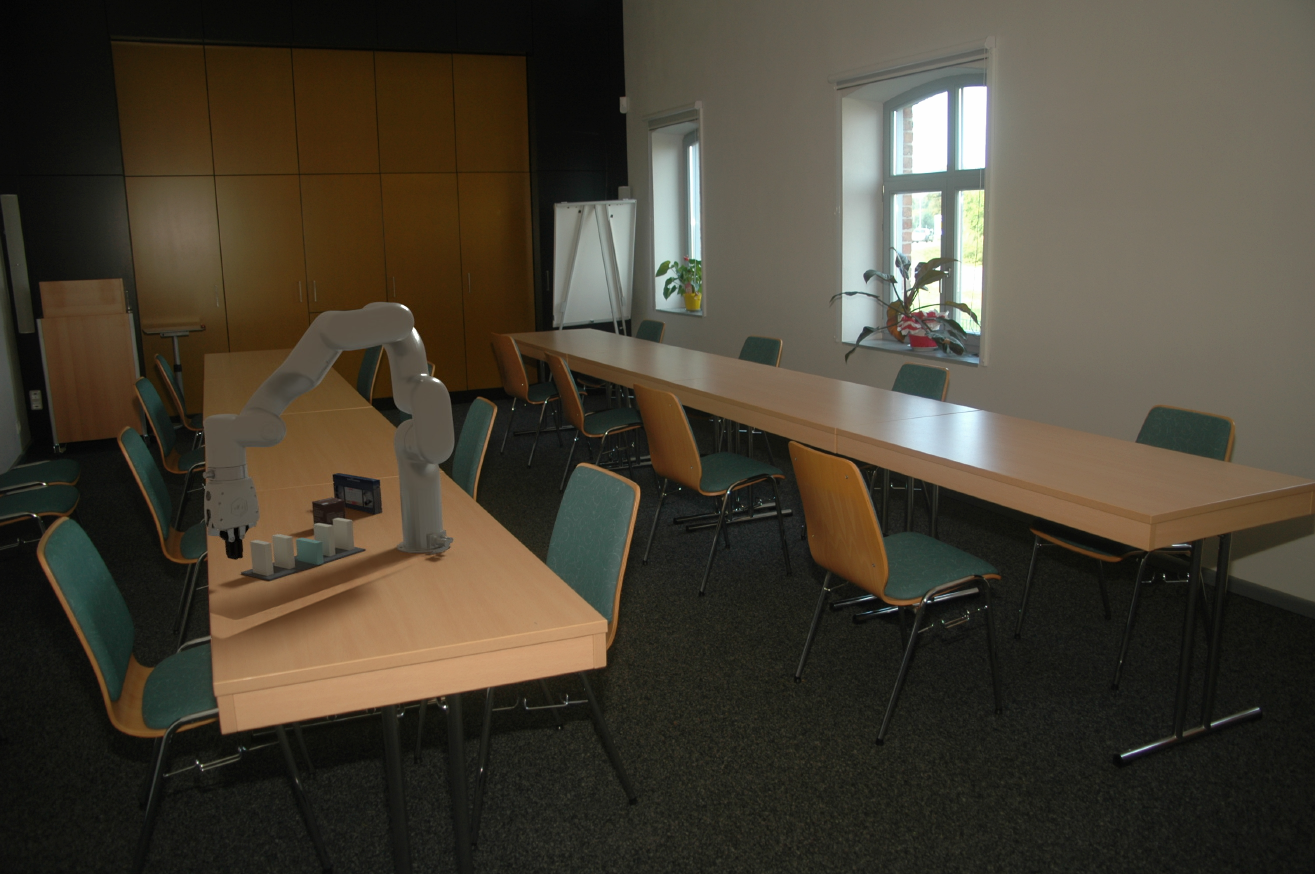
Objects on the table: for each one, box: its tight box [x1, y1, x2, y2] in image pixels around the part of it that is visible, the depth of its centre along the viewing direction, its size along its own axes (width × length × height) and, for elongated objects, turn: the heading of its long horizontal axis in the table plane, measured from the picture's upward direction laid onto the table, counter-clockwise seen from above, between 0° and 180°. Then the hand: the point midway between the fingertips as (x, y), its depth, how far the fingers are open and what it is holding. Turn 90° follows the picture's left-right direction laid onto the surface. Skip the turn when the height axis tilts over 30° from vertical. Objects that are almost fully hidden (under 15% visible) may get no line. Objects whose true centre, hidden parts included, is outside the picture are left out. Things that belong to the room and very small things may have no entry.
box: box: [311, 496, 347, 525], centre depth 241 cm, size 6×6×7 cm
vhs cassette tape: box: [332, 472, 383, 516], centre depth 259 cm, size 18×3×10 cm, turn 53°
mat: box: [240, 546, 366, 582], centre depth 212 cm, size 10×26×1 cm, turn 148°
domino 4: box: [333, 518, 355, 550], centre depth 221 cm, size 2×5×7 cm, turn 58°
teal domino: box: [295, 537, 324, 566], centre depth 211 cm, size 2×5×7 cm
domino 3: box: [312, 523, 335, 556], centre depth 216 cm, size 2×5×7 cm, turn 58°
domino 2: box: [271, 533, 295, 569], centre depth 207 cm, size 2×5×7 cm, turn 58°
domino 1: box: [249, 539, 274, 576], centre depth 202 cm, size 2×5×7 cm, turn 58°
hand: (235, 557), depth 197 cm, fingers closed
